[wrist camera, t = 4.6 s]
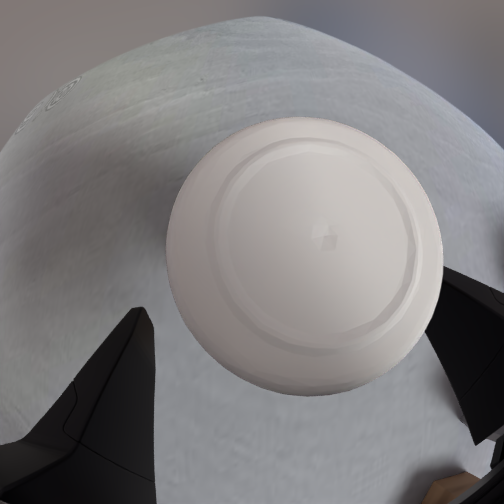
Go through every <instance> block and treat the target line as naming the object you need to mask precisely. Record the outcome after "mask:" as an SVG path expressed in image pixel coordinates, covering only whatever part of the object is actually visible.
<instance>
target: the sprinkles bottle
mask: <svg viewBox="0 0 504 504" xmlns="http://www.w3.org/2000/svg"><path fill="white" fill-rule="evenodd" d="M166 262H167V271H168V277H169V282H170V287H171V290H172V294H173V297H174V300H175V302H176V305H177V307H178V310H179V312H180V314H181V316H182V318H183V320H184V322H185V324H186V326H187V327H188V329H189V330H190V331H191V333H192V334H193V336H194V337H195V338H196V340H197V341H198V342H199V343H200V345H201V346H202V347H203V348H204V349H205V351H207V352H208V353H209V354H210V355H211V356H212V357H213V358H214V359H215V360H216V361H217V362H218V363H219V364H221V365H222V366H223V367H225V368H226V369H227V370H229V371H230V372H232V373H234V374H235V375H237V376H238V377H240V378H242V379H243V380H246V381H248V382H250V383H252V384H254V385H256V386H259V387H261V388H264V389H267V390H271V391H274V392H278V393H281V394H287V395H297V396H323V395H332V394H337V393H341V392H346V391H350V390H352V389H355V388H357V387H360V386H362V385H365V384H367V383H369V382H371V381H373V380H375V379H376V378H378V377H380V376H381V375H383V374H384V373H386V372H387V371H389V370H390V369H392V368H393V367H394V366H396V365H397V364H398V363H399V362H400V361H401V360H402V359H403V358H404V357H405V356H406V355H407V354H408V353H409V352H410V350H411V349H412V348H413V347H414V346H415V344H416V343H417V342H418V340H419V339H420V337H421V336H422V335H423V333H424V331H425V329H426V327H427V325H428V324H429V322H430V320H431V318H432V315H433V312H434V310H435V307H436V304H437V301H438V298H439V293H440V288H441V283H442V277H443V247H442V240H441V234H440V230H439V226H438V222H437V219H436V216H435V213H434V211H433V208H432V205H431V203H430V200H429V199H428V197H427V195H426V193H425V191H424V189H423V188H422V186H421V185H420V183H419V181H418V180H417V178H416V177H415V176H414V174H413V173H412V172H411V171H410V169H409V168H408V167H407V166H406V165H405V164H404V163H403V162H402V161H401V160H400V159H399V158H398V157H397V156H396V155H395V154H394V153H393V152H392V151H391V150H389V149H388V148H387V147H385V146H384V145H383V144H381V143H380V142H379V141H377V140H375V139H374V138H372V137H370V136H369V135H367V134H365V133H363V132H361V131H359V130H357V129H355V128H353V127H350V126H348V125H345V124H342V123H338V122H335V121H331V120H327V119H320V118H312V117H287V118H279V119H272V120H268V121H264V122H261V123H258V124H254V125H251V126H249V127H246V128H244V129H242V130H240V131H238V132H236V133H234V134H232V135H230V136H229V137H227V138H226V139H225V140H223V141H222V142H220V143H219V144H217V145H216V146H215V147H213V148H212V149H211V150H210V151H209V152H208V153H207V154H206V155H205V156H204V157H203V158H202V159H201V160H200V161H199V162H198V163H197V165H196V166H195V167H194V168H193V170H192V171H191V172H190V174H189V175H188V177H187V178H186V180H185V182H184V183H183V185H182V187H181V189H180V191H179V193H178V195H177V197H176V200H175V203H174V205H173V208H172V212H171V216H170V220H169V225H168V230H167V239H166Z"/></svg>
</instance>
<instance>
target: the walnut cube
mask: <svg viewBox="0 0 504 504" xmlns="http://www.w3.org/2000/svg"><path fill="white" fill-rule="evenodd" d="M479 480H481V479H479V478H478V477H476V476H474V475H472V474H470V473H468V472H464V473H460V474H457V475H454V476H450V477H447V478H443V479H439V480H435V481H434V482H433V483H432V485H431V487H430V489H429V491H428V492H427V494H426V496H425V498H424V499H423V501H422V503H421V504H448V503H449V502H451V501H452V500H454V499H455V498H457V497H458V496H459V495H461V494H462V493H464V492H465V491H466V490H468V489H469V488H470V487H472V486H473V485H474V484H475V483H477V482H478V481H479Z"/></svg>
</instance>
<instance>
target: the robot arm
mask: <svg viewBox="0 0 504 504" xmlns="http://www.w3.org/2000/svg"><path fill="white" fill-rule="evenodd" d="M425 333H426V335H427V337H428V339H429V341H430V342H431V344H432V346H433V348H434V350H435V352H436V354H437V356H438V358H439V360H440V362H441V364H442V366H443V368H444V370H445V373H446V375H447V377H448V379H449V381H450V383H451V386H452V388H453V390H454V392H455V395H456V397H457V399H458V401H459V405H460V407H461V409H462V412H463V414H464V417H465V420H466V422H467V425H468V428H469V430H470V433H471V436H472V439H473V442H474V444H475V446H476V445H478V444H479V443H481V442H482V441H483V440H485V439H486V438H488V437H489V436H490V435H492V434H493V433H494V432H496V431H497V430H498V429H500V428H501V427H502V426H503V425H504V293H502V292H500V291H498V290H496V289H494V288H492V287H489V286H487V285H485V284H483V283H481V282H479V281H476V280H474V279H472V278H470V277H468V276H465V275H463V274H461V273H459V272H456V271H454V270H452V269H449V268H447V267H445V266H443V277H442V283H441V288H440V293H439V298H438V301H437V304H436V307H435V310H434V312H433V315H432V318H431V320H430V322H429V324H428V325H427V327H426V329H425ZM155 370H156V369H155V346H154V327H153V324H152V322H151V320H150V318H149V316H148V314H147V312H146V310H145V308H144V307H135V308H132V309H131V310H130V311H129V312H128V313H127V314H126V315H125V316H124V318H123V319H122V320H121V321H120V322H119V324H118V325H117V326H116V327H115V328H114V329H113V331H112V332H111V333H110V334H109V335H108V337H107V338H106V339H105V340H104V342H103V343H102V344H101V345H100V346H99V348H98V349H97V350H96V351H95V353H94V354H93V355H92V356H91V358H90V359H89V360H88V361H87V363H86V364H85V365H84V366H83V368H82V369H81V370H80V371H79V373H78V374H77V375H76V377H75V378H74V379H73V381H72V382H71V383H70V384H69V386H68V387H67V388H66V390H65V391H64V392H63V393H62V395H61V396H60V397H59V398H58V400H57V401H56V402H55V403H54V404H53V406H52V407H51V408H50V409H49V410H48V411H47V413H46V414H45V415H44V416H43V417H42V418H41V419H40V421H39V422H38V423H37V424H36V425H35V426H34V427H33V429H32V430H31V431H30V432H29V433H28V434H27V435H26V436H25V437H24V438H22V439H20V440H18V441H16V442H12V443H8V444H4V445H0V504H157V502H156V488H155V483H154V482H155V472H154V393H155ZM490 467H491V469H492V470H491V471H490V472H489V473H488V474H487V475H485V476H484V477H483V478H482V479H481V480H479V481H478V482H477V483H475V484H474V485H473V486H472V487H470V488H469V489H468V490H466V491H465V492H464V493H462V494H461V495H459V496H458V497H457V498H455V499H454V500H452V501H451V502H449V503H448V504H504V433H503V434H502V435H501V436H500V437H499V438H497V439H496V444H495V448H494V453H493V457H492V460H491V464H490Z"/></svg>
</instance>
